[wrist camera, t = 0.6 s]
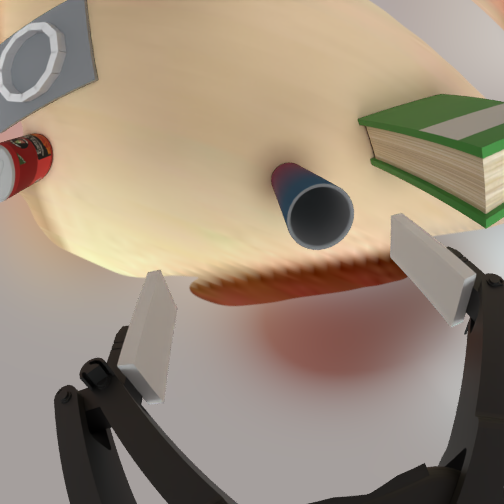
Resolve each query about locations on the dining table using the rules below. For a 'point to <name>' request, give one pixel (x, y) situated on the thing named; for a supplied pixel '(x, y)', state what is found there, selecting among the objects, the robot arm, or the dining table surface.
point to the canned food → (23, 163)
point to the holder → (45, 61)
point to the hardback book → (445, 151)
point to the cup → (312, 207)
